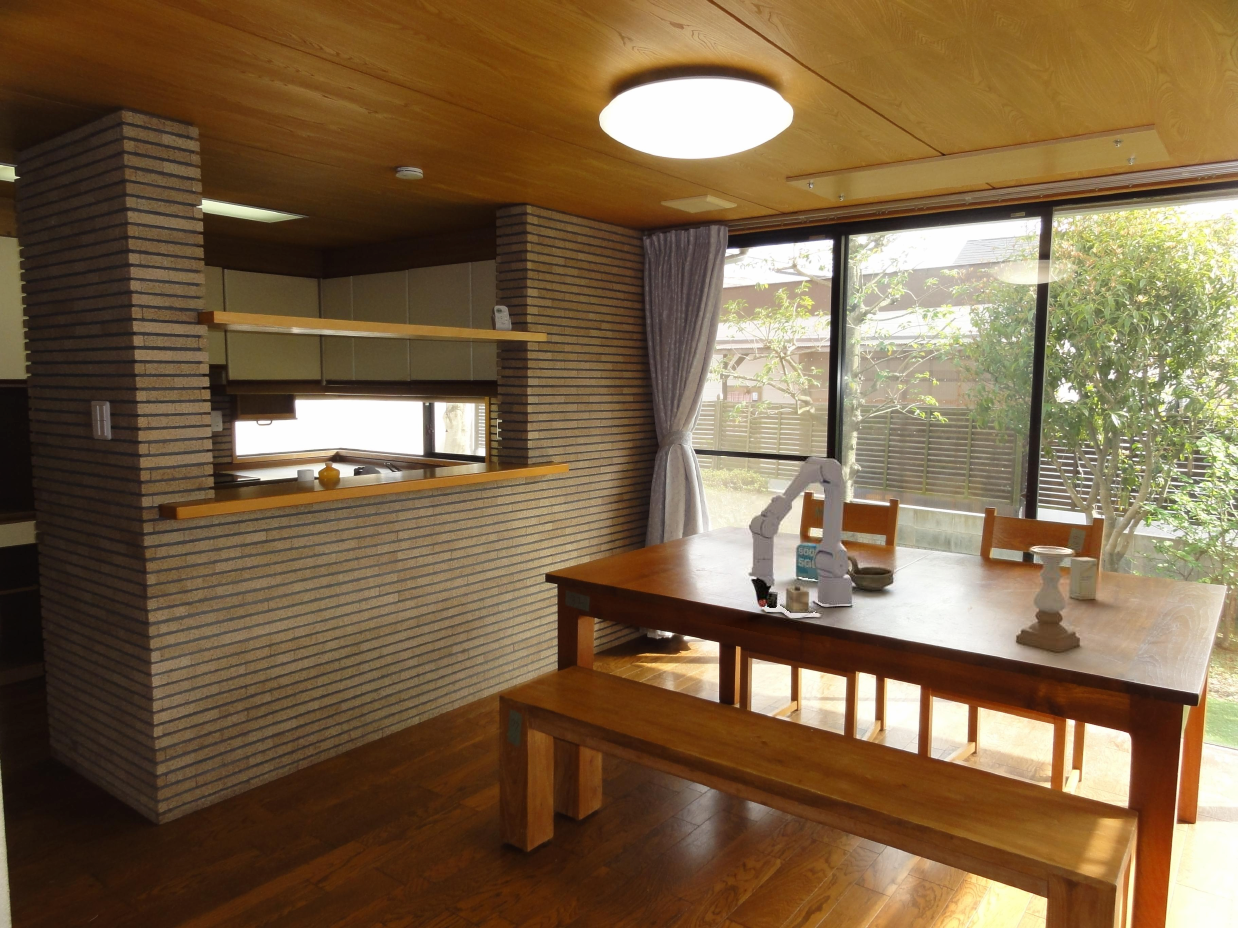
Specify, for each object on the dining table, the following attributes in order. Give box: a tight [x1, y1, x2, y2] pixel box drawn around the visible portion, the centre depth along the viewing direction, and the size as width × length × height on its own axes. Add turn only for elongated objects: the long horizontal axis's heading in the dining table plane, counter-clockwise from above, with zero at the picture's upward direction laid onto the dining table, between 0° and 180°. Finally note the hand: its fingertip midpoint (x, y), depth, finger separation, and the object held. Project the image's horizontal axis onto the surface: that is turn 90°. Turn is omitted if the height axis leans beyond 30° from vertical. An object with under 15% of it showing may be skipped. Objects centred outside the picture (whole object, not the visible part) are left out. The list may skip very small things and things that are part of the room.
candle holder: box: [1015, 545, 1081, 654], centre depth 206 cm, size 11×11×24 cm
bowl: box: [845, 554, 895, 591], centre depth 265 cm, size 14×18×10 cm
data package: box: [795, 542, 820, 580], centre depth 275 cm, size 12×4×12 cm, turn 55°
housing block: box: [785, 585, 810, 610], centre depth 236 cm, size 5×6×6 cm
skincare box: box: [1068, 556, 1098, 601], centre depth 252 cm, size 6×4×12 cm
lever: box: [757, 591, 778, 608], centre depth 236 cm, size 9×3×4 cm, turn 142°
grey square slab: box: [780, 603, 821, 614], centre depth 236 cm, size 13×12×2 cm
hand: (762, 604), depth 236 cm, fingers closed, pressing on lever
